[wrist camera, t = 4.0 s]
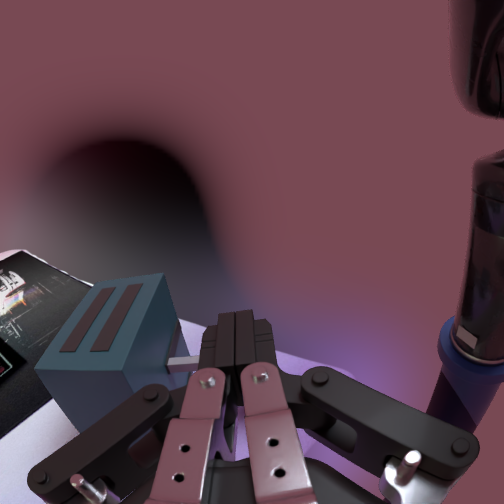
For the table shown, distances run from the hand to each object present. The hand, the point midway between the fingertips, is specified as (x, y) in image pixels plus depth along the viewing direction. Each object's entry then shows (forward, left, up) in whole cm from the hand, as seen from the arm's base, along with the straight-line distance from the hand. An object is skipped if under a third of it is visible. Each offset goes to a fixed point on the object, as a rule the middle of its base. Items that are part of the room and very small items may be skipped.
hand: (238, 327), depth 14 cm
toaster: (+12, -9, -16) cm, 22 cm away
